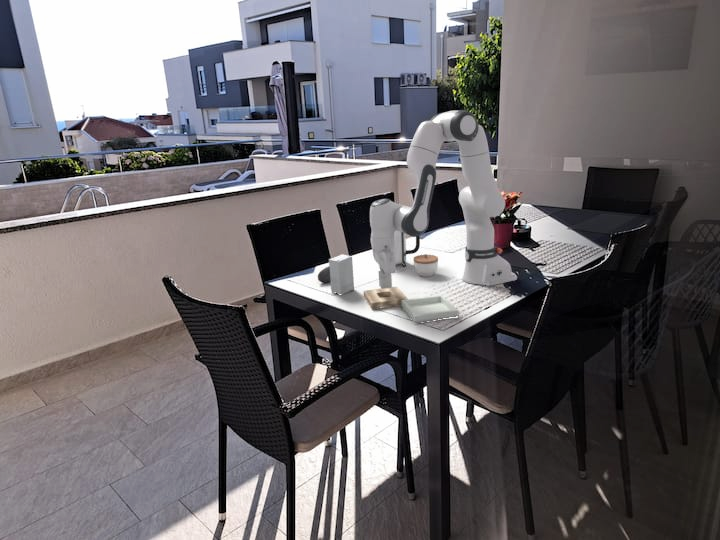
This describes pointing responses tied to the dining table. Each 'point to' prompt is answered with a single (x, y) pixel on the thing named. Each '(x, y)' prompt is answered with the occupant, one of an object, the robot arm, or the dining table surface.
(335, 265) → the skincare box
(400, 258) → the coffee press
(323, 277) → the perforated stone tool
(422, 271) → the lidded jar
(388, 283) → the pin
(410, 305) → the tray
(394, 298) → the socket block
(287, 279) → the dining table surface
